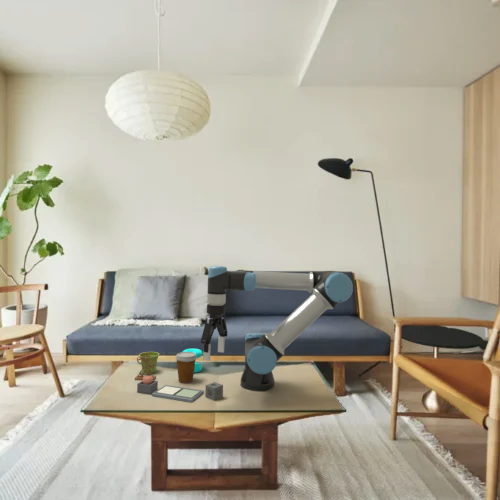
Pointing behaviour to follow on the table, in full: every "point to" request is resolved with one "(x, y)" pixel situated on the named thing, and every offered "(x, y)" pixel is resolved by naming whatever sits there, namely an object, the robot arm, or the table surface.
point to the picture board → (178, 393)
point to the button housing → (147, 387)
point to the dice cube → (214, 391)
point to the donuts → (198, 353)
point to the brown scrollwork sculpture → (144, 367)
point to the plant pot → (152, 357)
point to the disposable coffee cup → (186, 366)
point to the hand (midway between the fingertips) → (214, 356)
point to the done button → (147, 380)
